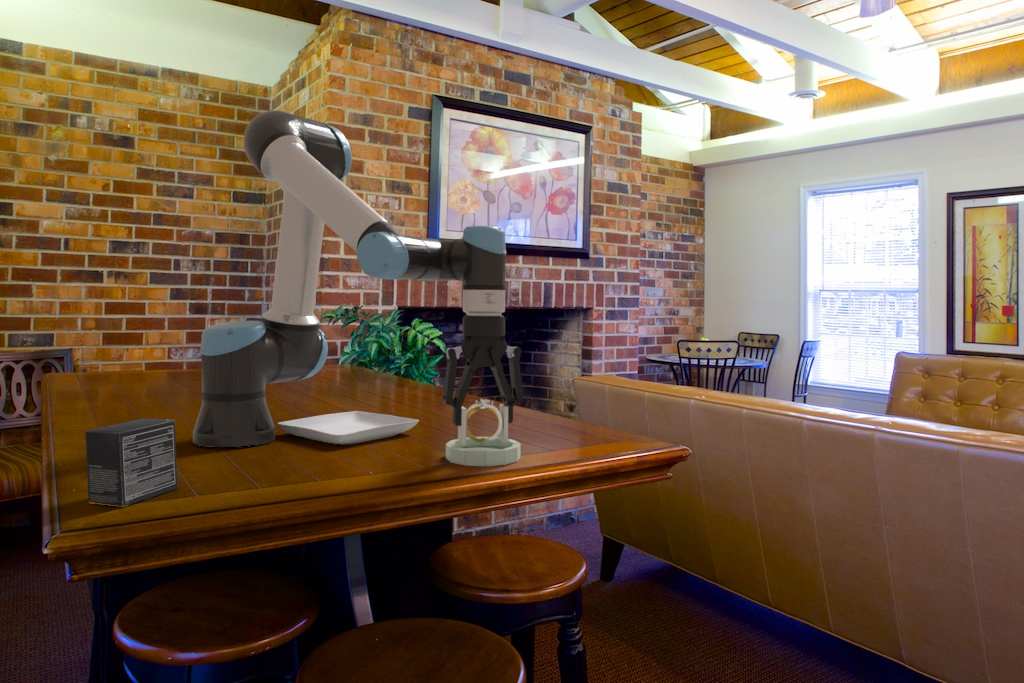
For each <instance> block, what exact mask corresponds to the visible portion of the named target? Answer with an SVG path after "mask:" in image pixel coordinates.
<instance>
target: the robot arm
mask: <svg viewBox="0 0 1024 683" xmlns="http://www.w3.org/2000/svg"><path fill="white" fill-rule="evenodd" d="M351 149H352V148H351V146H350V143H349V141H348V139H347V138H346V137H345V135H344V133H343V131H340V129H338V128H336V127H334V126H332V125H329V124H328V123H326V122H322V121H317V120H314V119H310V118H307V117H303V116H300V115H295V114H292V113H289V112H286V111H283V110H269V111H264V112H261V113H259V114H258V115H255V116H254V117H253V118H252V119H251V120H250V122H249V123H248V124H247V126H246V128H245V131H244V134H243V150H244V152H245V154H246V155H245V156H247V159H248V160H249V162H250V163H251V164H252V166H253V167H254V168H255V169H256V170H257V171H258V172H259V173H260V174H262V175H263V176H264V178H266V179H267V180H268V181H270V182H274V183H277V184H278V186H279V187H280V189H281V190H282V192H283V199H282V200H283V201H282V208H281V218H280V225H279V226H280V228H279V235H278V236H279V237H278V243H277V244H278V245H277V253H276V261H275V270H274V271H275V272H274V279H273V280H274V281H273V287H272V288H273V290H272V296H271V298H272V299H271V306H270V308H269V309H268V310H267V311H265V312H264V313H262V316H261V317H262V318H261V321H260V320H241V321H230V322H223V323H218V324H214V325H210V326H207V327H206V328H204V330H203V332H202V333H201V342H200V350H199V352H200V357H201V358H200V360H201V361H200V362H201V398H202V399H201V406H200V410H199V413H198V415H197V419H196V422H195V423H194V428H193V431H192V443H195V444H197V445H202V446H214V447H236V446H248V447H251V446H250V445H255V446H260V444H261V445H265V444H267V443H268V444H269V443H271V442H273V441H274V440H276V427H275V425H274V424H275V423H274V422H273V421H274V420H273V419H272V416H271V413H270V410H269V408H268V404H267V401H266V385H268V384H277V383H283V382H298V381H301V380H303V379H308V378H311V377H313V376H315V375H316V374H317V373H319V372H320V371H321V370H322V368H324V365H325V363H326V360H327V357H328V352H329V351H328V350H329V346H328V340H327V339H325V337H326V334H324V332H323V331H322V330H321V329H320V320H319V318H318V317H317V316H316V315H315V313H314V311H315V304H316V303H315V302H316V297H317V296H316V294H317V285H318V278H319V277H318V276H319V270H320V261H321V256H322V254H321V252H322V245H323V237H324V229H325V225H326V226H327V227H328V228H329V229H331V231H333V232H334V234H336V235H337V236H338V237H339V238H340V239H342V241H343V242H345V243H346V244H347V245H348V246H349V247H350V248H351V249H352V250H353V251H355V253H356V260H357V263H358V265H359V268H360V269H361V271H362V272H363V273H364V274H366V275H367V276H369V277H371V278H376V279H380V280H383V281H384V280H386V281H388V280H389V281H390V280H391V281H392V280H410V281H411V280H412V281H419V282H428V283H430V282H445V281H446V282H449V281H453V282H454V281H458V282H460V281H461V282H462V311H463V313H465V315H463V317H462V341H461V343H460V345H459V346H455V347H454V346H453V347H446V348H445V349H444V353H445V357H446V368H445V369H446V370H445V373H444V374H445V375H444V382H443V392H442V399H441V400H442V403H444V404H445V405H447V406H451V407H452V424H453V426H455V427H457V439H458V443H459V444H461V445H466V438H467V434H466V412H467V408H466V407H464V406H463V404H464V402H465V399H466V397H467V395H468V394H467V393H468V391H469V389H470V385H471V383H472V380H473V377H474V375H475V373H476V372H477V369H478V368H483V367H488V368H490V370H491V371H492V374H493V376H494V377H493V378H494V379H495V382H496V385H497V387H498V391H499V394H500V396H501V399H502V402H503V403H501V404H499V408H498V410H499V412H500V414H501V416H502V423H503V424H502V429H501V432H500V433H499V435H498V437H499V440H500V441H502V442H504V443H506V442H508V439H509V424H512V423H513V420H514V406H516V404H517V403H520V402H523V401H524V391H523V383H522V382H523V381H522V372H521V362H520V360H521V355H522V348H521V347H518V346H510V345H508V343H507V342H506V338H505V336H506V317H505V316H504V315H502V313H505V312H506V256H507V248H506V232H505V231H504V229H503V228H501V227H499V226H494V225H493V226H492V225H471V226H466V227H465V228H464V229H463V231H462V232H463V234H462V237H461V238H457V239H456V238H455V239H452V238H451V239H450V238H449V239H447V238H446V239H443V238H441V239H440V238H439V239H437V238H436V239H435V238H428V237H418V236H414V235H413V236H411V235H405V234H404V233H401V232H400V231H399V230H398V229H397V228H396V227H394V226H393V225H392V224H391V223H390V222H388V221H387V220H386V219H385V218H384V217H383V215H380V213H378V212H377V211H376V210H375V209H374V208H372V207H371V206H370V205H369V204H368V203H367V202H366V201H364V200H363V198H361V197H360V196H359V195H358V194H356V193H355V192H354V191H353V190H352V189H351V188H349V186H347V185H346V184H345V183H344V182H343V181H344V180H345V178H346V176H348V175H349V173H350V170H351V167H352V162H353V157H352V156H353V155H352V150H351ZM505 353H506V356H507V358H508V367H509V375H510V376H509V377H510V385H511V389H510V386H509V383H508V381H507V378H506V375H505V372H504V367H503V365H502V361H501V359H502V357H503V356H504V354H505ZM461 354H463V355H464V356H463V357H465V359H466V361H465V364H464V368H463V372H462V374H461V378H460V380H459V382H458V385H457V388H456V391H455V384H456V376H457V369H458V359H460V358H461V357H460V356H461ZM454 392H455V394H454Z"/></svg>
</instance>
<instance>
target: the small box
mask: <svg viewBox="0 0 1024 683" xmlns="http://www.w3.org/2000/svg"><path fill="white" fill-rule="evenodd" d="M176 440H177V439H176V420H175V419H170V418H169V419H165V418H138V419H134V420H130V421H126V422H121V423H116V424H112V425H107V426H102V427H97V428H93V429H87V430H85V447H86V448H85V449H86V468H87V469H86V470H87V474H86V475H87V492H88V493H87V494H88V496H87V497H88V499H87V500H88V501H90V502H95V503H102V504H110V505H118V506H125V505H129V504H133V503H135V504H137V503H136V502H138V503H140V502H139V501H141V502H143V501H142V500H144V501H146V500H149V499H152V498H154V496H155V497H157V496H160V494H161V495H163V494H167V493H169V492H172V491H174V490H178V489H179V485H178V484H179V483H178V468H177V467H178V466H177V444H176ZM177 488H178V489H177ZM133 505H134V504H133Z"/></svg>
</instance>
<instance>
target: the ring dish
mask: <svg viewBox="0 0 1024 683" xmlns="http://www.w3.org/2000/svg"><path fill="white" fill-rule="evenodd" d="M475 437H476V438H479V439H481V438H482V437H484V438H489V437H490V436H475ZM521 444H522V443H520V442H518V441H517V440H515V439H511V438H508V442H506V443H504V442H502V441H500V440H499V436H497V437H496V438H495V439H494V440H492V441H490V442H487V443H485V444H481V443H479V442H475V441H473V440H472V439H470V438H469V437H468V436H466V445H461V444H459V443H458V438H455V439H451V440H449V441H448V442H447V443H445V459H446V460H447V461H449V463H451V464H456V465H461V466H465V467H466V466H470V467H495V466H496V467H497V466H506V465H510V464H513V463H516V462H519V460H520V459H521V455H522V454H521V450H522V449H521Z"/></svg>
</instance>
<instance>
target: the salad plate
mask: <svg viewBox="0 0 1024 683" xmlns="http://www.w3.org/2000/svg"><path fill="white" fill-rule="evenodd" d="M418 423H419V419H417V418H416V419H415V418H409V417H405V416H404V417H403V416H397V415H393V414H392V415H390V414H386V413H385V414H383V413H375V412H369V411H360V410H353V411H346V412H344V411H343V412H336V413H329V414H328V413H327V414H320V415H314V416H308V417H303V418H297V419H291V420H285V421H279V422H277V424H276V425H277V426H278V427H279V428H280V429H281V430H282V431H284V432H285V433H288V434H290V435H293V436H296V437H300V438H303V437H304V439H308V440H312V441H316V440H317V441H316V442H321V441H322V442H321V443H326V442H327V444H331V443H333V444H332V445H337V444H340V445H339V446H342V445H343V446H345V445H346V444H347V445H352V444H353V445H354V444H359V443H365V442H370V441H375V440H379V439H384V438H385V439H386V438H391V437H394V436H396V435H398V434H402V433H404V432H406V431H409V430H411V429H412V428H413V427H415V426H416V425H417V424H418Z"/></svg>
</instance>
